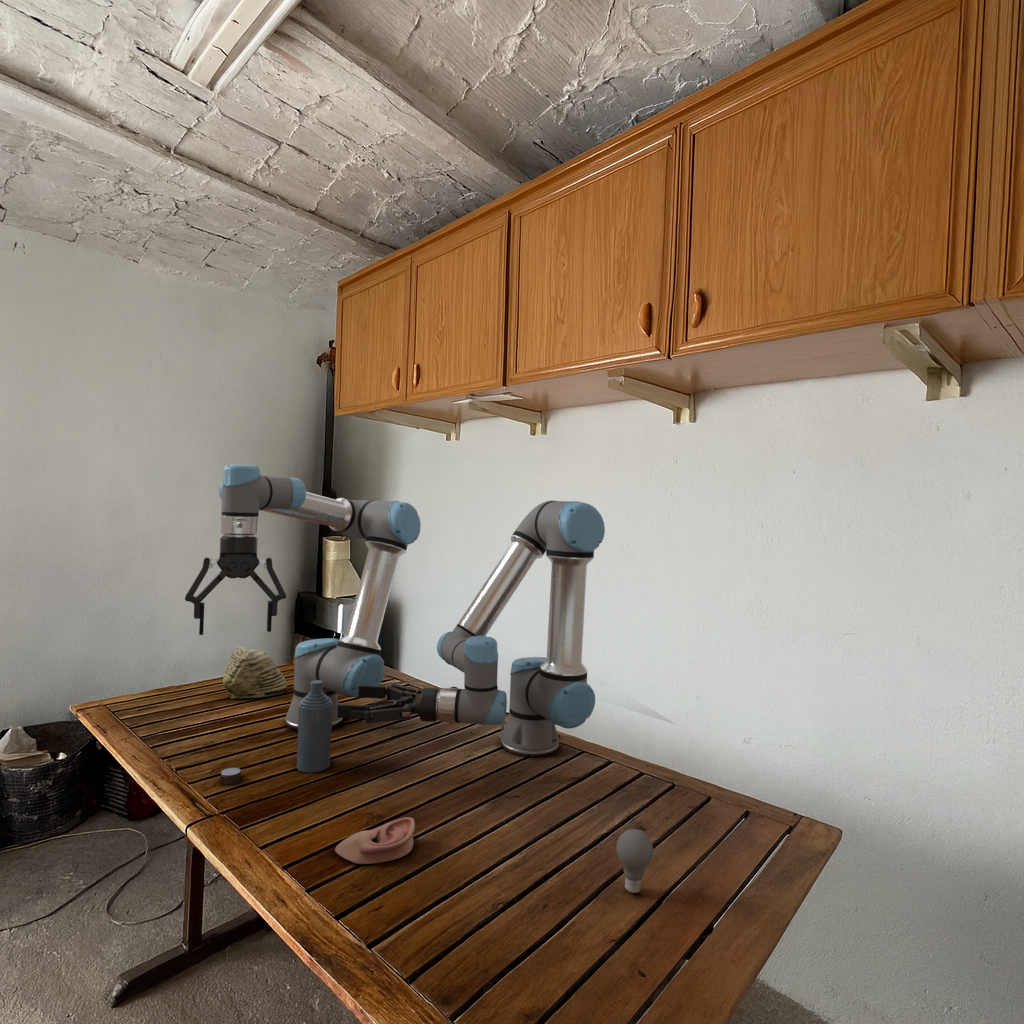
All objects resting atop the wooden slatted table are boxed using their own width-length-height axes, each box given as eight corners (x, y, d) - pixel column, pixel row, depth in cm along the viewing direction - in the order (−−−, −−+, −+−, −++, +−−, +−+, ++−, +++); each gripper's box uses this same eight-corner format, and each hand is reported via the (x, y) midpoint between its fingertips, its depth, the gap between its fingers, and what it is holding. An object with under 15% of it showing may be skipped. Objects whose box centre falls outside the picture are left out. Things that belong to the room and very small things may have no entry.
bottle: (332, 769, 147) (335, 684, 147) (298, 774, 144) (301, 687, 143) (327, 757, 154) (330, 676, 153) (294, 761, 151) (297, 678, 150)
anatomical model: (327, 836, 111) (356, 806, 122) (326, 858, 111) (355, 826, 122) (398, 848, 108) (421, 815, 119) (397, 871, 108) (420, 836, 119)
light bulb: (610, 879, 108) (613, 822, 108) (644, 879, 109) (647, 822, 109) (619, 902, 102) (622, 840, 102) (655, 901, 103) (658, 840, 103)
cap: (234, 775, 142) (234, 765, 142) (244, 780, 140) (244, 771, 140) (216, 780, 139) (217, 771, 139) (226, 786, 137) (226, 777, 136)
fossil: (218, 695, 195) (220, 647, 195) (278, 685, 208) (279, 640, 207) (228, 703, 189) (230, 653, 188) (289, 692, 201) (290, 645, 201)
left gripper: (173, 535, 130) (170, 638, 130) (301, 537, 140) (297, 632, 141) (175, 533, 137) (172, 631, 137) (297, 535, 147) (293, 626, 147)
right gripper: (426, 742, 133) (328, 737, 135) (449, 702, 158) (366, 699, 160) (426, 707, 132) (328, 702, 135) (449, 673, 157) (366, 669, 159)
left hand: (235, 632), depth 139 cm, fingers open, 13 cm apart
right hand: (348, 700), depth 147 cm, fingers open, 13 cm apart
